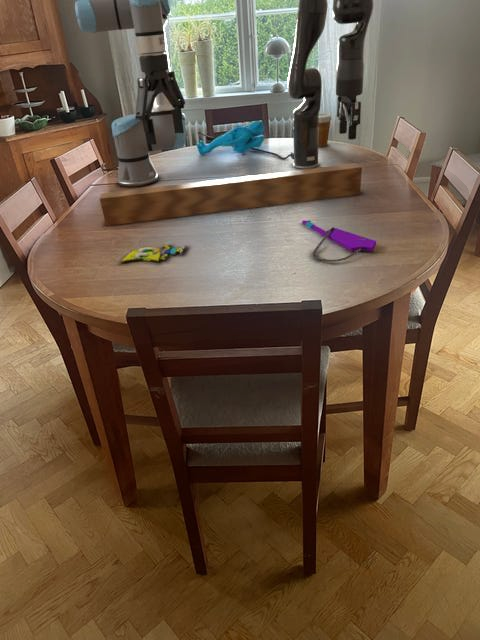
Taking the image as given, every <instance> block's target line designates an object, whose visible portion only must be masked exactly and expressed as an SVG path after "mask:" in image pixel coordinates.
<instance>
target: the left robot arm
mask: <svg viewBox="0 0 480 640" xmlns="http://www.w3.org/2000/svg"><path fill="white" fill-rule="evenodd" d="M169 1H170V0H76V1H75V3H74V11H75V15H76V19H77V25H78V27H79V29H80V31H81V32H82V33H83V34H89V33H90V34H96V33H101V32H112V31H121V30H124V31H125V30H133V29H134V32H135V33H134V35H135V42H136V49H137V54H138V55H140V56H139V58H138V59H139V60H138V61H139V66H140V71H141V72H142V73H144V77H138V78H137V79H136V81H137V96H136V106H135V113H132V114H128V115H124V116H122V117H121V116H120V117H119V118H116V119H114V120H113V121H112V122H111V131H112V138H113V141H114V146H115V151H116V155H117V160H118V167H112V168H104V167H107V163H106V162H103V163H102V164H101V166H100V167H101V168H100V169H101V170H102V171H104V172H112V171H117V183H118V186H120V187H123V188H124V187H125V188H136V187H137V188H138V187H145V186H147V185H148V186H149V185H151V184H154V183H156V182H157V181H158V180H159V176H158V172H157V169H156V168H155V166H154V163H153V161H152V159H151V156H150V152H157V151H167V150H174V149H180V148H183V147H184V146H185V145H186V114H185V113H183V112H182V109H185V105H186V100H185V98H184V96H183V94H182V91H181V88H180V86H179V84H178V81H177V78H176V73H175V71H174V70H173V71H172V70H171V67H170V59H169V51H168V44H167V38H166V32H165V31H166V30H165V27H166V25H167V23H168V20H169V19H168V17H169V16H171V15H172V12H171V11H172V10H171V6H170V2H169Z"/></svg>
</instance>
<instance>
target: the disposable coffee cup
mask: <svg viewBox="0 0 480 640" xmlns="http://www.w3.org/2000/svg"><path fill="white" fill-rule="evenodd" d="M332 120H333V119H332V116H331V114H330V113H319V136H318V148H319V147H320V148H323V147H326V146H328V142H329V134H330V128H331V121H332Z"/></svg>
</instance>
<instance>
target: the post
mask: <svg viewBox="0 0 480 640" xmlns="http://www.w3.org/2000/svg"><path fill="white" fill-rule="evenodd" d="M362 173H363V167H362V165H360V164H358V163H357V162H354V163H353V162H352V163H346V164H336V165H328V166H320V167H315V168H310V169H296V170H295V169H294V170H287V171H279V172H271V173H261V174H254V175H244V176H238V177H237V176H236V177H230V178H229V177H228V178H221V179H220V178H219V179H211V180H203V181H195V182H194V181H193V182H187V183H186V182H185V183H177V184H170V185H161V186H153V187H145V188H135V189H128V190H127V189H126V190H118V191H111V192H110V191H109V192H102V193H100V196H99V201H100V202H99V203H100V207H101V211H102V215H103V219H104V224H105V226H106V227H107V226H108V227H109V226H116V225H125V224H132V223H139V222H149V221H159V220H164V219H173V218H180V217H189V216H196V215H204V214H213V213H214V214H215V213H222V212H229V211H236V210H237V211H238V210H246V209H253V208H260V207H269V206H276V205H277V206H279V205H287V204H293V203H302V202H311V201H318V200H325V199H334V198H342V197H351V196H358V195H361V191H362V190H361V188H362Z"/></svg>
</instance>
